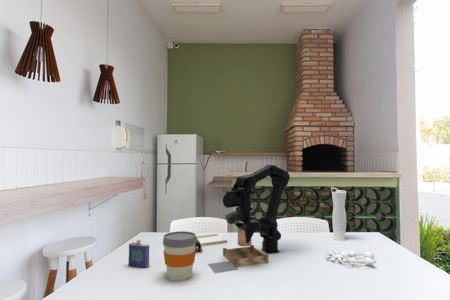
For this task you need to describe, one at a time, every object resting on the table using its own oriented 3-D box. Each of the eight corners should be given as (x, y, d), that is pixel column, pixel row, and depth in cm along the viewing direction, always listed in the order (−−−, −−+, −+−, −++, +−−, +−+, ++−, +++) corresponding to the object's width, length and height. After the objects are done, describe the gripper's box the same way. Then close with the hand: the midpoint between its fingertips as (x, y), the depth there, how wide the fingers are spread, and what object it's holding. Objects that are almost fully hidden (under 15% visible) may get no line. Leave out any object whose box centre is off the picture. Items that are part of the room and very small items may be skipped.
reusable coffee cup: (181, 285, 100) (181, 242, 101) (155, 277, 107) (155, 236, 107) (203, 273, 111) (203, 234, 111) (178, 266, 118) (178, 229, 118)
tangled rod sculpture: (322, 266, 122) (322, 256, 122) (327, 253, 135) (327, 244, 134) (374, 273, 113) (373, 263, 113) (374, 259, 126) (373, 249, 125)
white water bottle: (331, 240, 155) (331, 188, 156) (330, 236, 162) (330, 186, 163) (347, 241, 153) (347, 188, 153) (346, 237, 160) (345, 187, 160)
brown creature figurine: (202, 256, 132) (194, 241, 130) (184, 264, 133) (176, 250, 131) (205, 242, 143) (197, 228, 142) (189, 249, 145) (181, 236, 143)
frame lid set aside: (216, 236, 163) (216, 233, 163) (227, 242, 151) (227, 240, 151) (193, 239, 157) (193, 236, 157) (202, 246, 145) (202, 243, 145)
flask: (150, 266, 118) (150, 239, 119) (146, 268, 116) (146, 241, 116) (130, 263, 121) (130, 238, 121) (126, 266, 118) (126, 240, 118)
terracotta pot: (247, 241, 130) (247, 225, 130) (253, 245, 124) (253, 228, 124) (235, 243, 128) (235, 226, 128) (240, 247, 122) (240, 229, 122)
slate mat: (229, 261, 124) (229, 261, 124) (239, 270, 114) (239, 269, 114) (207, 264, 120) (207, 264, 120) (214, 273, 111) (214, 273, 111)
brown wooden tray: (252, 252, 135) (252, 244, 136) (268, 263, 122) (268, 254, 122) (222, 256, 130) (222, 248, 130) (235, 267, 116) (235, 259, 116)
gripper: (220, 203, 132) (220, 237, 132) (235, 210, 115) (235, 249, 115) (242, 201, 136) (242, 235, 136) (260, 208, 119) (260, 246, 118)
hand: (244, 241), depth 126 cm, fingers closed on terracotta pot, 6 cm apart
